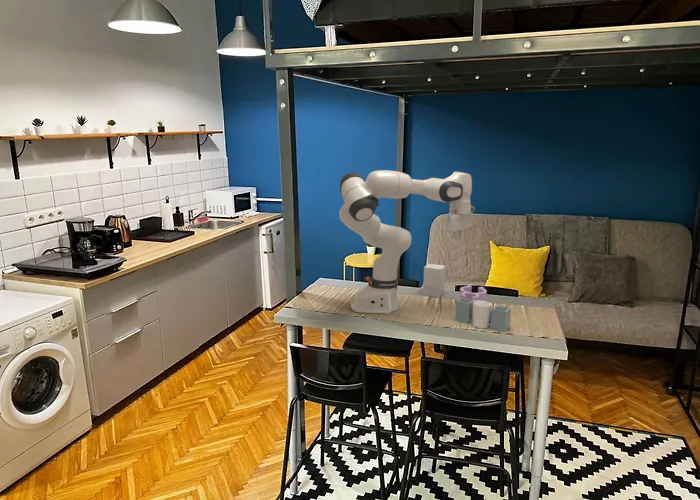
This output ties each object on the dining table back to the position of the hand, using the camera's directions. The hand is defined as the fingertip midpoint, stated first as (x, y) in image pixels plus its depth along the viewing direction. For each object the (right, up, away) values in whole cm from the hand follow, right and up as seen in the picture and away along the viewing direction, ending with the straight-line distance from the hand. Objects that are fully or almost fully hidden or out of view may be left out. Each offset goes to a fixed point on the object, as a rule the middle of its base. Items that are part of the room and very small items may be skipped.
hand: (457, 239), depth 223 cm
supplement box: (-5, -28, +34) cm, 44 cm away
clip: (+11, -31, +20) cm, 39 cm away
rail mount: (+10, -36, -5) cm, 38 cm away
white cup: (+8, -37, -8) cm, 39 cm away
